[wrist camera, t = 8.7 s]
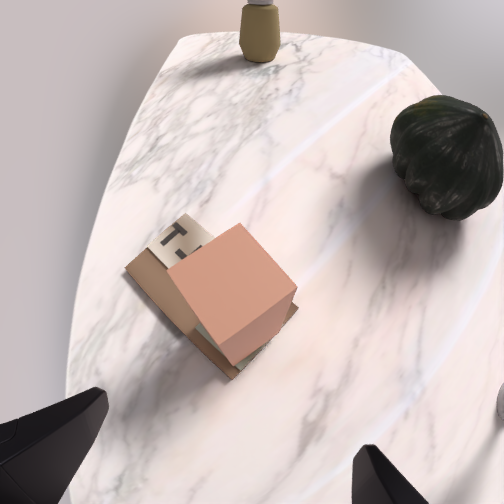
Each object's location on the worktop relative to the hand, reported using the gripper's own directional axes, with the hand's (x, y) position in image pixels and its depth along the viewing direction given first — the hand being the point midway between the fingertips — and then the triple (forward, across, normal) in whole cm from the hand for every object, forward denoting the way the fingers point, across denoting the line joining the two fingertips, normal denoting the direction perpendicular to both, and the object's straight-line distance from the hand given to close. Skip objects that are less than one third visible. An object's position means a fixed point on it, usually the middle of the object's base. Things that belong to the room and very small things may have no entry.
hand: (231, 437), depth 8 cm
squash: (+28, -19, -12) cm, 36 cm away
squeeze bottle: (+49, +9, -32) cm, 60 cm away
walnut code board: (+16, +5, +2) cm, 17 cm away
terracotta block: (+14, +1, +4) cm, 14 cm away
